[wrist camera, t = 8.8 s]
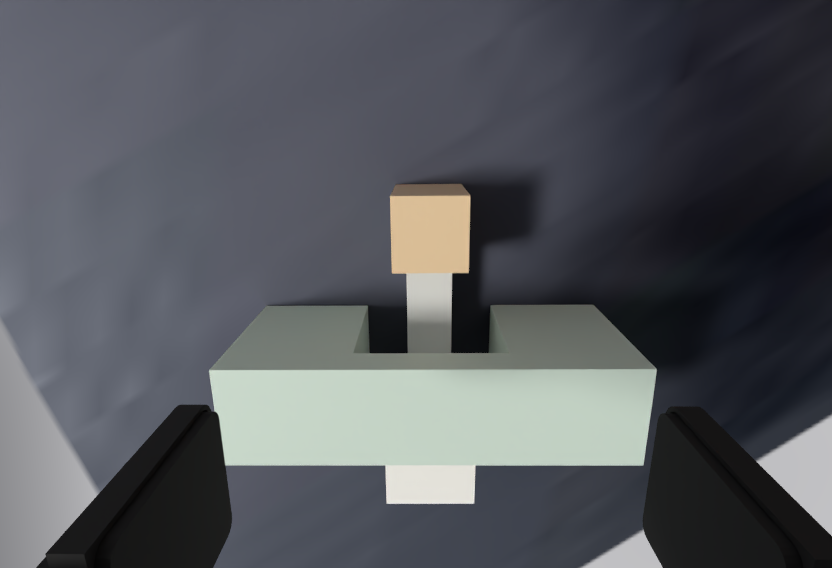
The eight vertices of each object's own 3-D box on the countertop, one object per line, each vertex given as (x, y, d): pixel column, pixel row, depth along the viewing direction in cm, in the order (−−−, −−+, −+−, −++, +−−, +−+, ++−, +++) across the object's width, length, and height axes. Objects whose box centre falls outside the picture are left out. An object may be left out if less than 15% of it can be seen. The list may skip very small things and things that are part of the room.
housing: (266, 305, 25) (209, 370, 18) (593, 304, 25) (656, 369, 18) (273, 379, 26) (222, 465, 19) (585, 378, 26) (643, 465, 19)
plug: (384, 184, 23) (376, 196, 19) (472, 183, 23) (483, 195, 19) (391, 448, 27) (386, 506, 23) (466, 448, 27) (474, 506, 23)
